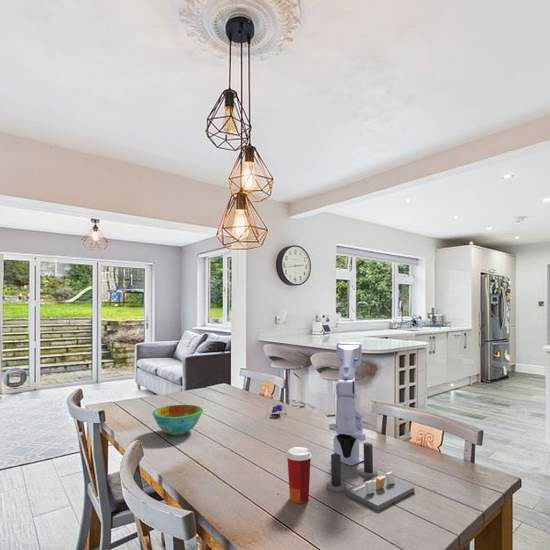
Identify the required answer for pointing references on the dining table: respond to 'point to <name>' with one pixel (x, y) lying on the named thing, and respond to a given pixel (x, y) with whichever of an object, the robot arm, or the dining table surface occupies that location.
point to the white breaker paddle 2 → (389, 477)
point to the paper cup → (299, 473)
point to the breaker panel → (380, 493)
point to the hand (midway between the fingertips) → (346, 456)
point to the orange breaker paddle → (380, 482)
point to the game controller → (277, 409)
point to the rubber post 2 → (368, 462)
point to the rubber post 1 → (336, 475)
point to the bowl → (177, 418)
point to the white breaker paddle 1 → (369, 487)
